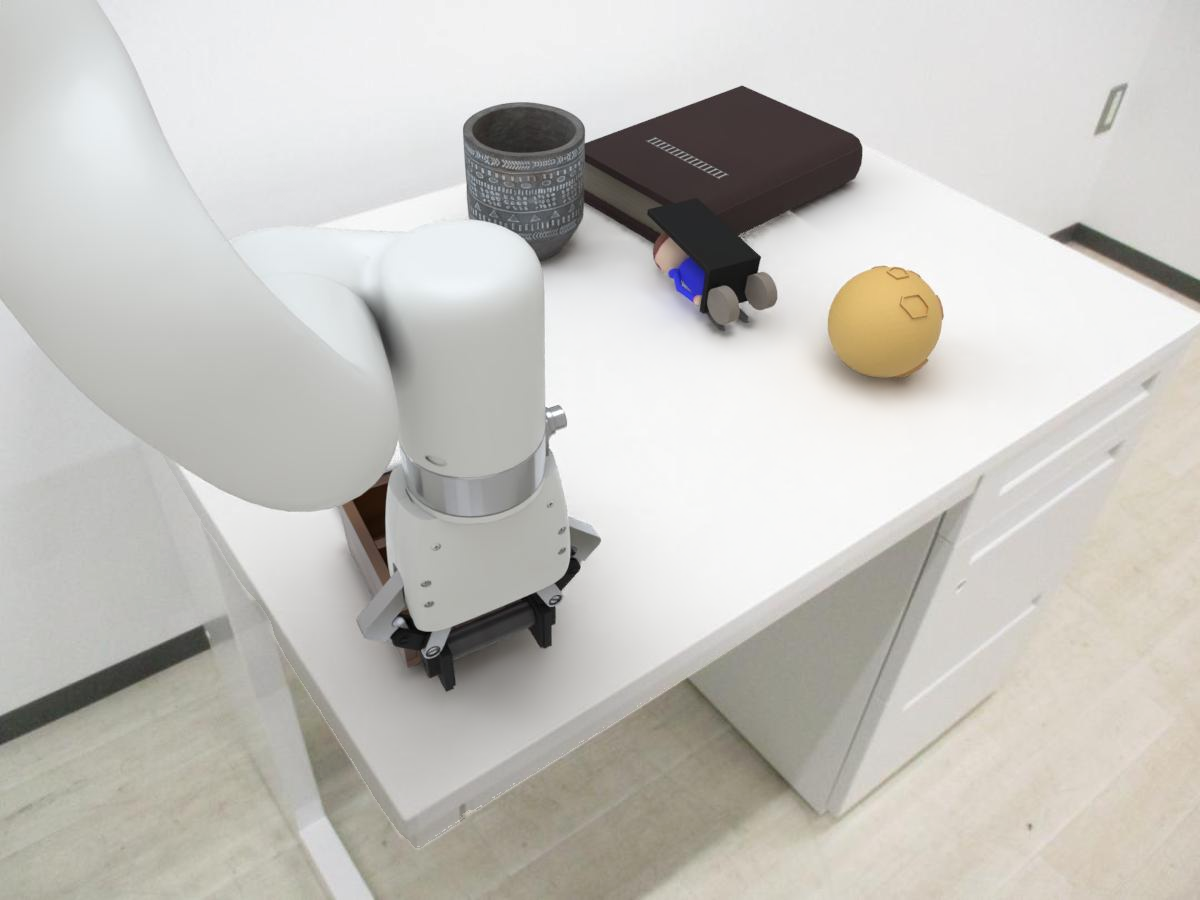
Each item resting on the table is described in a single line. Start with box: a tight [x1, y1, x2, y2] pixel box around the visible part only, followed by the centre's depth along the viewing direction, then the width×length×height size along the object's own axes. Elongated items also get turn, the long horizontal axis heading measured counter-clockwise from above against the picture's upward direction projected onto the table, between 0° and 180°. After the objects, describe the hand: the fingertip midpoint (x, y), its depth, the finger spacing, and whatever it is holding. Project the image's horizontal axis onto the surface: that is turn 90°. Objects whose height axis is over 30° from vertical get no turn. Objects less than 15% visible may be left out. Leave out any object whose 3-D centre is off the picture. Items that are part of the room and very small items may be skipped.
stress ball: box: [827, 265, 945, 379], centre depth 85 cm, size 10×10×10 cm
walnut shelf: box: [338, 474, 537, 668], centre depth 65 cm, size 15×10×6 cm, turn 30°
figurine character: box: [647, 198, 778, 332], centre depth 93 cm, size 7×8×15 cm
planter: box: [462, 101, 586, 261], centre depth 98 cm, size 12×12×13 cm
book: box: [584, 85, 863, 245], centre depth 110 cm, size 28×20×6 cm
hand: (489, 650), depth 62 cm, fingers closed on walnut shelf, 6 cm apart
